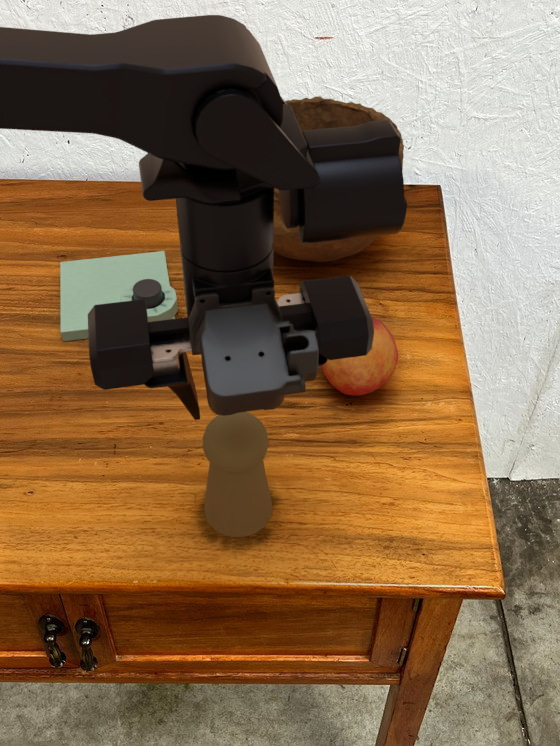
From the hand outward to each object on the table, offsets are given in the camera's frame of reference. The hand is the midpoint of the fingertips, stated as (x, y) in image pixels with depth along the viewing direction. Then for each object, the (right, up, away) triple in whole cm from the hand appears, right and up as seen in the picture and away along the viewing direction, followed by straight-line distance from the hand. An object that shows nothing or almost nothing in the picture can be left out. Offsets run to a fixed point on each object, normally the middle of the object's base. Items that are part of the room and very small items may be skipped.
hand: (234, 410), depth 59 cm
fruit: (+11, +2, +20) cm, 23 cm away
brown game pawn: (0, -9, +10) cm, 13 cm away
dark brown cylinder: (-11, +11, +24) cm, 29 cm away
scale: (-15, +11, +28) cm, 34 cm away
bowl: (+8, +18, +36) cm, 41 cm away
